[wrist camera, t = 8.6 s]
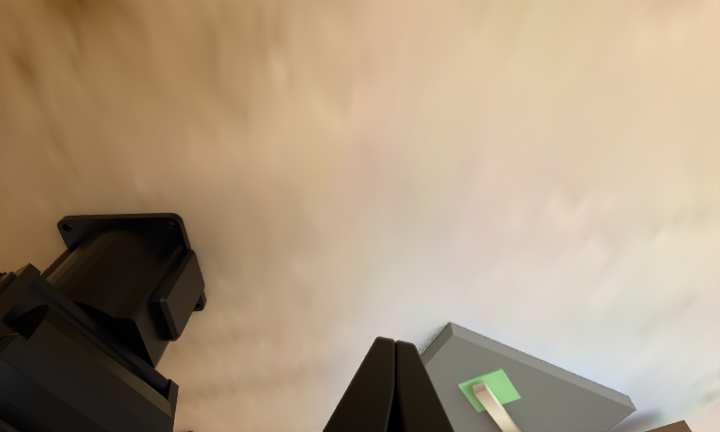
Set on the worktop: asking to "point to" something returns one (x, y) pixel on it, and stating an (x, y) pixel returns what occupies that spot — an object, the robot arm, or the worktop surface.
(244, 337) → the worktop surface
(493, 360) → the gray rectangular base plate
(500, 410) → the pull lever
